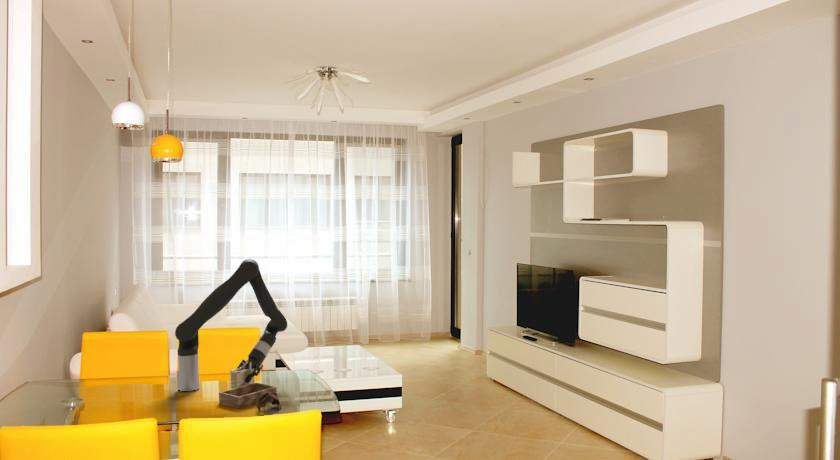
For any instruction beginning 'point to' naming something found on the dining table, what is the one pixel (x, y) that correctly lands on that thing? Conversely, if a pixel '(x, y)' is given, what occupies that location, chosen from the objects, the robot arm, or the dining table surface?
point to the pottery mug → (268, 400)
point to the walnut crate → (244, 395)
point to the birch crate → (240, 377)
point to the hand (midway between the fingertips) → (240, 381)
